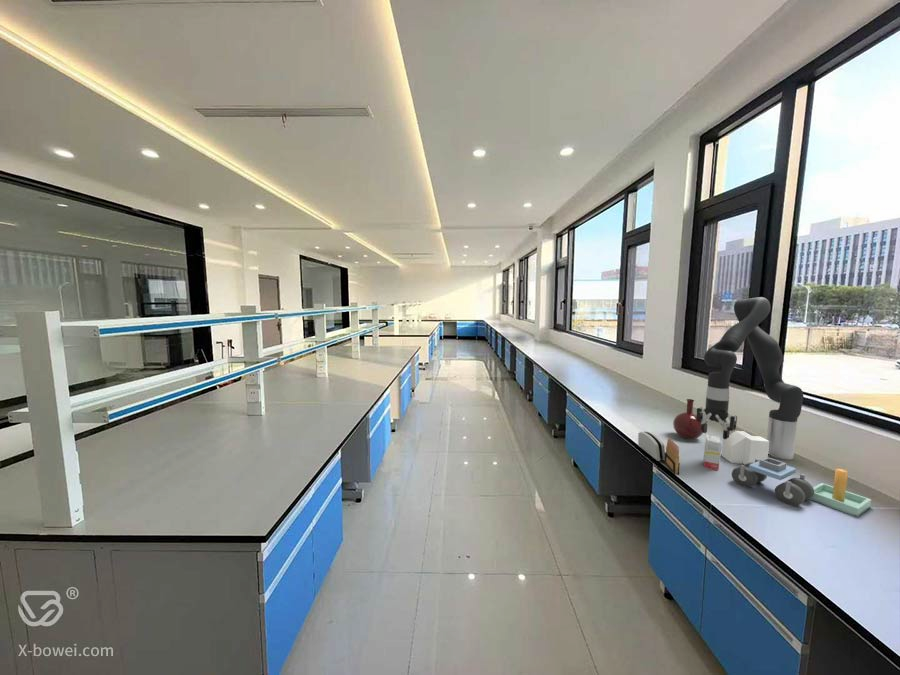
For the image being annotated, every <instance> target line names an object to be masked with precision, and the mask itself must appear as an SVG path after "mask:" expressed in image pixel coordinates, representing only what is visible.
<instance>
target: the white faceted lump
mask: <svg viewBox="0 0 900 675" xmlns="http://www.w3.org/2000/svg"><path fill="white" fill-rule="evenodd" d="M769 442H770V441H768V440H767V438H764V437H763V436H761V435H760V436H757V435H751V434H749V433H748V432H746V431H744V430H743V431H741V430H734V431H732V433H731V434H730V433H729V438H727V439H723V438H722V443H721V456H722V457H723V458H724V459H726V460H727V461H729V462H730V463H733V464H742V463H743V464H744V465H745V464H748V463H755V459H758V460H759V461H760V460H761V459H763V458H766V457H769V455H768V451H769ZM743 464H742V465H743Z"/></svg>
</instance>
